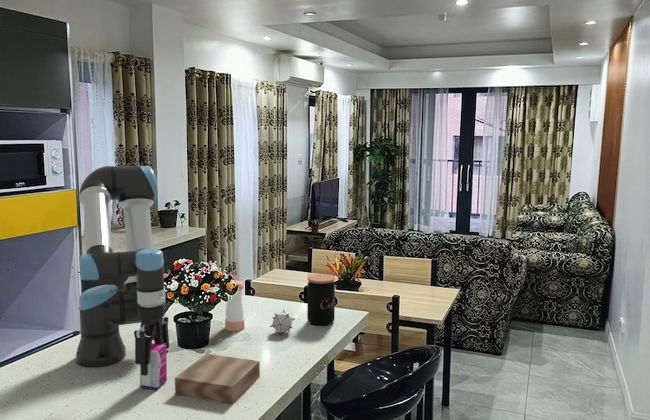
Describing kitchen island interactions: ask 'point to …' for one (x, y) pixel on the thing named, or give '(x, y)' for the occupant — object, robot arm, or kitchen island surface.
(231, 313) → the pepper shaker
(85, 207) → the robot arm
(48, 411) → the kitchen island surface
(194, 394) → the block
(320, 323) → the coffee jar
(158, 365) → the supplement box
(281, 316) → the spiky geometric ball
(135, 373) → the kitchen island surface
